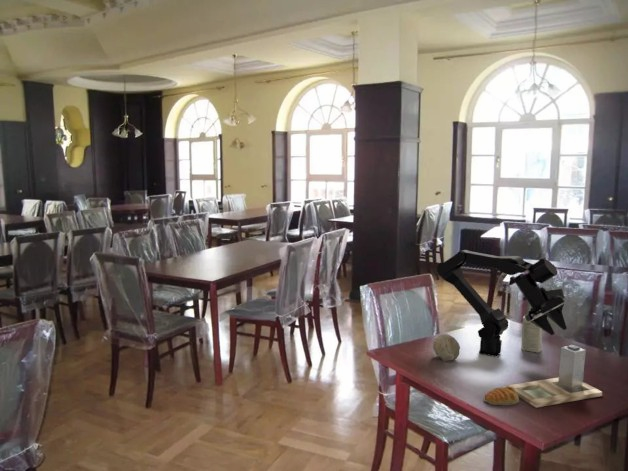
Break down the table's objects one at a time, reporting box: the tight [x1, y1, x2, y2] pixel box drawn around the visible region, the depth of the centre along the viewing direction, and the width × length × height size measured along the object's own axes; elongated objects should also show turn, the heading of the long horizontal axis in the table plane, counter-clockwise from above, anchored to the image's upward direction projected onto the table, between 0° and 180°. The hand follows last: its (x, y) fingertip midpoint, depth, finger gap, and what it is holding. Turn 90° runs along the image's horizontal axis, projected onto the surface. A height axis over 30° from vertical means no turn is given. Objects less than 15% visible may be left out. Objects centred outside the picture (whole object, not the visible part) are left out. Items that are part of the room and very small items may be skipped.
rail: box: [506, 376, 603, 408], centre depth 152 cm, size 24×12×1 cm, turn 109°
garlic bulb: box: [432, 333, 461, 362], centre depth 177 cm, size 9×8×10 cm
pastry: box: [483, 385, 520, 406], centre depth 147 cm, size 9×7×4 cm
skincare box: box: [520, 315, 543, 354], centre depth 186 cm, size 6×4×12 cm
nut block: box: [557, 344, 587, 393], centre depth 153 cm, size 5×5×14 cm
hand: (559, 332), depth 166 cm, fingers open, 9 cm apart
